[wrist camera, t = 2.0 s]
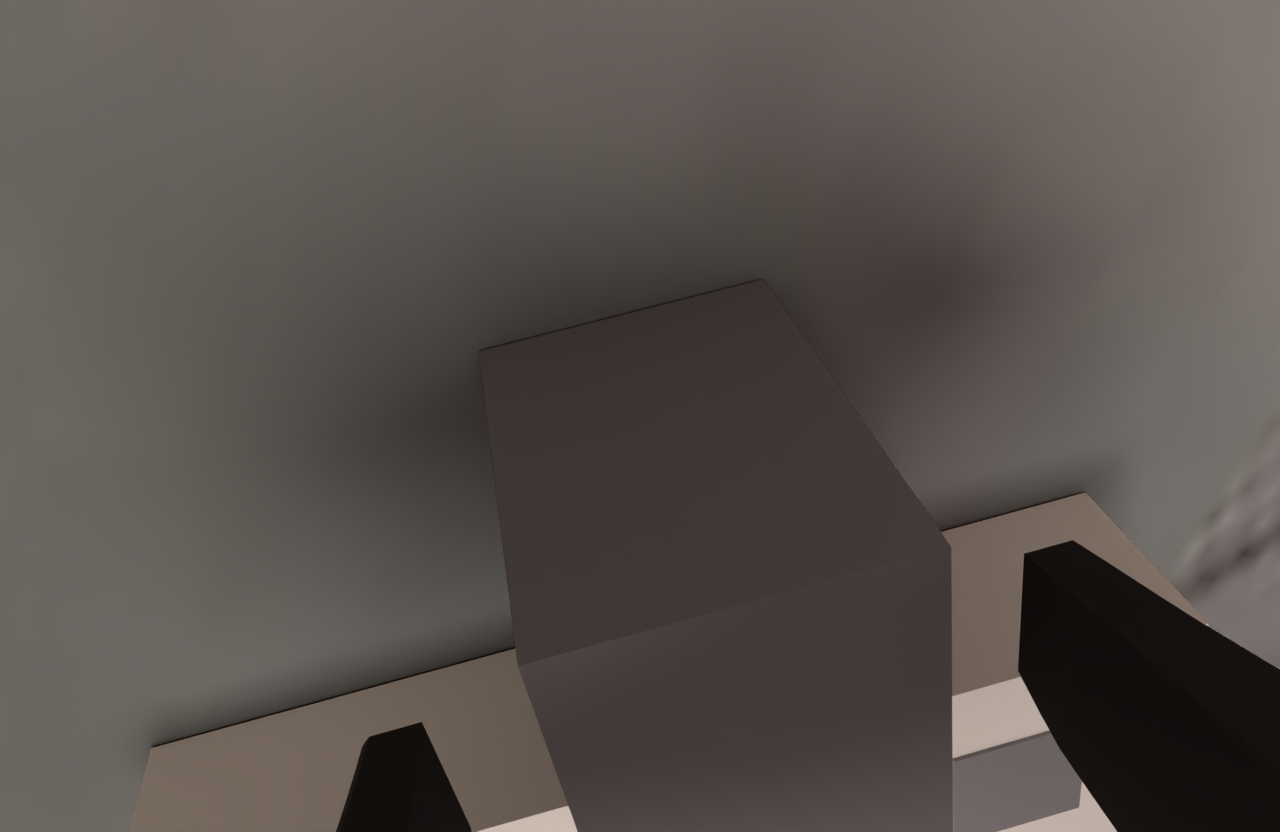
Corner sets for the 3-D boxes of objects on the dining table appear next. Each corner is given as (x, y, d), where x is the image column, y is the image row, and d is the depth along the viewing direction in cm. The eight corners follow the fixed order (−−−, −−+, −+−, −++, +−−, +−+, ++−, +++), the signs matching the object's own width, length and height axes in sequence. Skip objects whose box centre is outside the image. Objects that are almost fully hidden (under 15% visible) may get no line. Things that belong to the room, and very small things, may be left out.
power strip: (1085, 492, 19) (1233, 649, 16) (1068, 685, 23) (1188, 852, 19) (151, 747, 18) (91, 977, 15) (268, 914, 21) (242, 1136, 18)
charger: (763, 278, 16) (951, 546, 10) (810, 663, 21) (953, 980, 15) (478, 351, 15) (517, 666, 10) (594, 724, 20) (663, 1069, 15)
